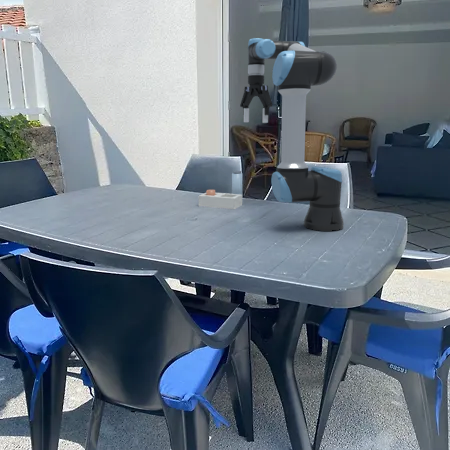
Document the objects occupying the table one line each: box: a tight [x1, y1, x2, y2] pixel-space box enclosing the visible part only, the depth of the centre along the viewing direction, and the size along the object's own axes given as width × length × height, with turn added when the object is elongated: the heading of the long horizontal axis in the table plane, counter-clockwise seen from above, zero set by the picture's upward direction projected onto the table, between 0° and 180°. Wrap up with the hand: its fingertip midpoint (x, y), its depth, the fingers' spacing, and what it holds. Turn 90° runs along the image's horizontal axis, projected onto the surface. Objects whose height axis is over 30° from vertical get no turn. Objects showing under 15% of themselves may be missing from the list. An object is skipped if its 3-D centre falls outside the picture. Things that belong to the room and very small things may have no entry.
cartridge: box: [231, 170, 243, 196], centre depth 208 cm, size 5×5×16 cm
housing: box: [198, 192, 243, 210], centre depth 201 cm, size 10×18×6 cm, turn 67°
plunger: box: [205, 189, 216, 196], centre depth 202 cm, size 4×4×6 cm
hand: (255, 122), depth 202 cm, fingers open, 13 cm apart
